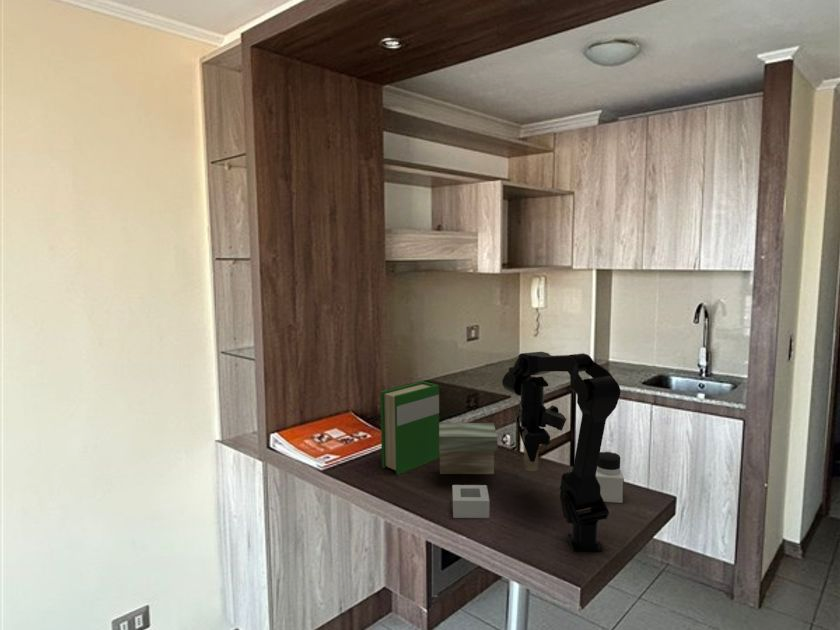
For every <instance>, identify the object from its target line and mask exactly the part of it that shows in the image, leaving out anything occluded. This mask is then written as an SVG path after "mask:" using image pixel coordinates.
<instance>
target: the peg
mask: <svg viewBox="0 0 840 630" xmlns="http://www.w3.org/2000/svg"><path fill="white" fill-rule="evenodd" d="M523 446H524V445H523ZM523 449H524V450H523V453H524V454H523V455H524V457H523V468H524V470H526V471H529V472H531V471H532V472H534V471H537V470H538V468H539V466H538V465H539V450H538V451H537V455H536V458H535V461H534V462H530V460H529V457H528V454H527V451H526V449H525V446H524V447H523Z"/></svg>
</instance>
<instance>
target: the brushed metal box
mask: <svg viewBox="0 0 840 630" xmlns="http://www.w3.org/2000/svg"><path fill="white" fill-rule="evenodd" d="M497 451H498V434H497V430H496V426H495V423H494V422H439V475H494V474H495V452H497Z"/></svg>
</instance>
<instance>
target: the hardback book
mask: <svg viewBox="0 0 840 630" xmlns="http://www.w3.org/2000/svg"><path fill="white" fill-rule="evenodd" d="M379 392H380V394H379V395H380V433H381V434H380V436H381V437H380V438H381V439H380V440H381V468H382V467H387V468H389V469H392V470H394V471H395V474H396V475H397V474H399V475H401V474H400V473H402V474H404V473H407V472H408V470H409V471H412V470H414V469H413V468H415V469H416V467H417V468H419V466H420V467H422V466H424V465H423V464H425V465H426V463H427V464H429V463H428V462H430V461H432V460H435V459H437V458H439V459H440V451H439V426H440V385H439V384H435V383H433V382H432V383H431V382H428V381H427V382H426V381H424V380H422V381H417V382H415V383H410V384H406V385H403V386H398V387H393V388H389V389H386V390H382V391H379ZM437 460H438V459H437ZM435 461H436V460H435ZM432 462H433V461H432ZM430 463H431V462H430ZM411 469H412V470H411ZM406 471H407V472H406ZM403 472H404V473H403Z"/></svg>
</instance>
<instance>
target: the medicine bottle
mask: <svg viewBox="0 0 840 630" xmlns="http://www.w3.org/2000/svg"><path fill="white" fill-rule="evenodd" d="M596 478H597V480H598V482H599V484H600V487H601V488H600V494H601V496H602V498H603V501H604V503H615V504H623V503H624V486H625V485H624V481H625V480H624V479H625V478H624V475H623V473H622V470H621V456H620V455H619V454H618V453H616V452H613V451H610V450H604V451H603V450H602V451H600V454H599V460H598V465H597V471H596Z"/></svg>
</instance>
